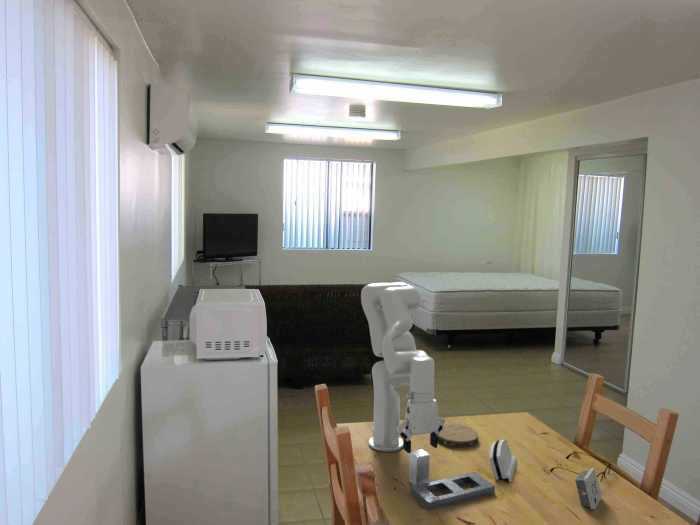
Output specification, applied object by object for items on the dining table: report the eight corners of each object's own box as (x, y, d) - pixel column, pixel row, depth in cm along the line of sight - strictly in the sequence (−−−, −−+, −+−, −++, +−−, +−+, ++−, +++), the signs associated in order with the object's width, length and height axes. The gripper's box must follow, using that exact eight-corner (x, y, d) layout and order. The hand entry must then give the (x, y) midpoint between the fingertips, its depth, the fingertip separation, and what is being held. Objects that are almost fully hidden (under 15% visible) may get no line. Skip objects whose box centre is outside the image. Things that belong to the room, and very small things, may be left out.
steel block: (408, 481, 180) (409, 451, 179) (420, 478, 182) (421, 448, 181) (416, 487, 176) (417, 457, 175) (428, 484, 178) (429, 454, 177)
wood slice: (446, 428, 224) (446, 420, 223) (484, 438, 214) (484, 430, 214) (427, 441, 211) (427, 433, 210) (467, 453, 201) (467, 445, 201)
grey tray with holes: (410, 494, 172) (410, 486, 171) (474, 479, 182) (474, 471, 182) (428, 510, 163) (428, 502, 162) (494, 493, 173) (494, 486, 173)
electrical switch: (593, 511, 164) (592, 480, 163) (575, 507, 167) (574, 476, 167) (602, 498, 171) (600, 468, 171) (584, 494, 174) (583, 465, 174)
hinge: (510, 482, 180) (501, 452, 180) (496, 484, 182) (487, 454, 182) (517, 460, 195) (508, 433, 196) (503, 462, 197) (495, 435, 198)
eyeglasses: (595, 490, 177) (596, 478, 176) (547, 473, 187) (547, 462, 187) (613, 472, 189) (614, 461, 188) (566, 457, 199) (567, 447, 199)
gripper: (403, 403, 168) (402, 458, 170) (451, 395, 176) (450, 449, 177) (391, 395, 175) (390, 449, 177) (438, 389, 182) (437, 440, 184)
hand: (420, 449), depth 177 cm, fingers open, 9 cm apart
